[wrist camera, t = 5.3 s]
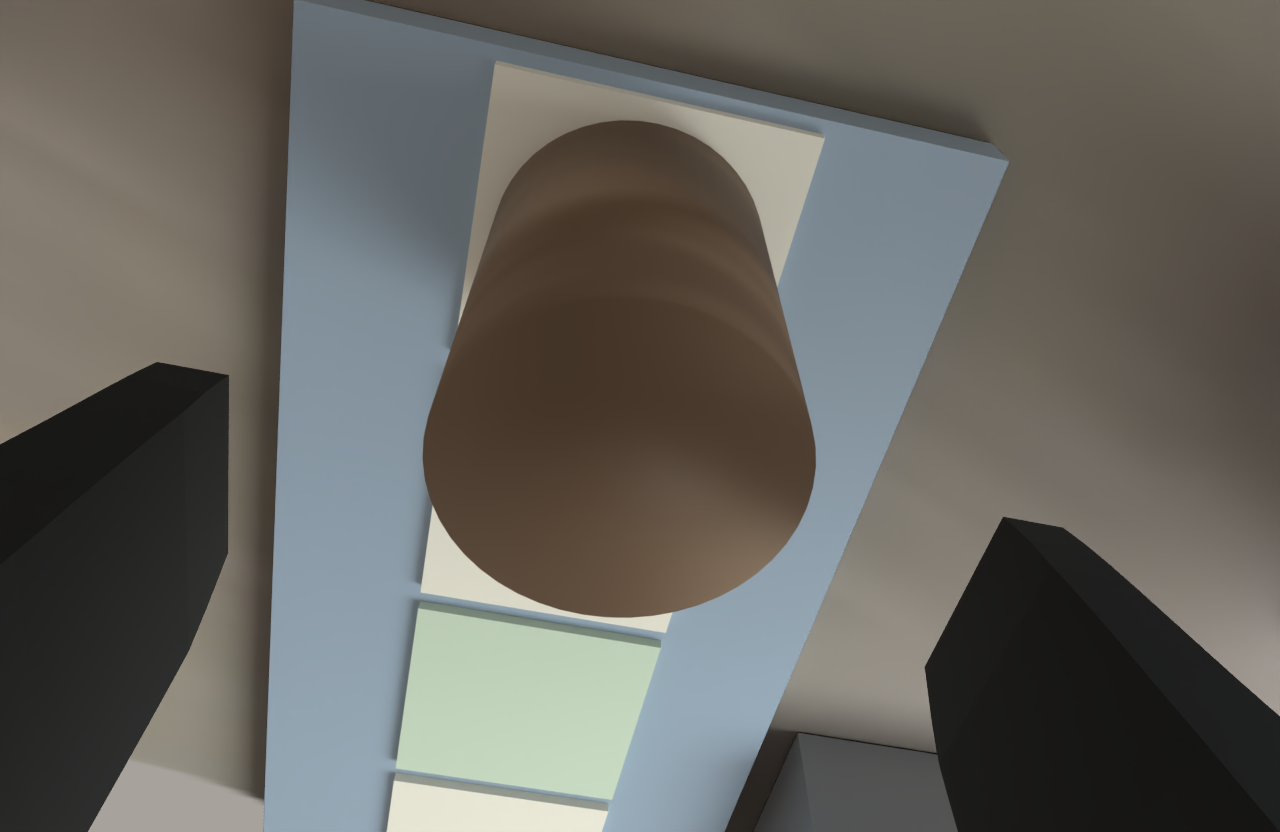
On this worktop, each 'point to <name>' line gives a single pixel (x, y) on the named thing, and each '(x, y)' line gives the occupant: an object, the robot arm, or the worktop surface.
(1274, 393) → the worktop surface
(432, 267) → the board
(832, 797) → the button housing
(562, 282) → the brown wooden cylinder
